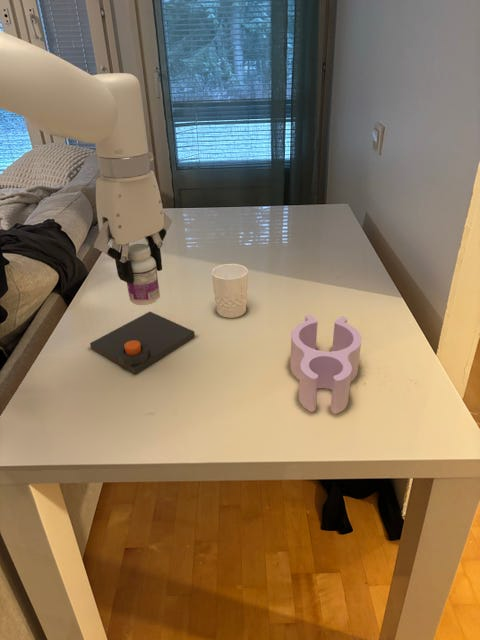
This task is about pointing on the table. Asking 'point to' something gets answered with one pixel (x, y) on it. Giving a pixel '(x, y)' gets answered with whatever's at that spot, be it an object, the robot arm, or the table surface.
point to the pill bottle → (143, 276)
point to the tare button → (132, 347)
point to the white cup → (230, 289)
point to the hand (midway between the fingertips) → (141, 273)
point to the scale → (143, 341)
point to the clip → (324, 362)
